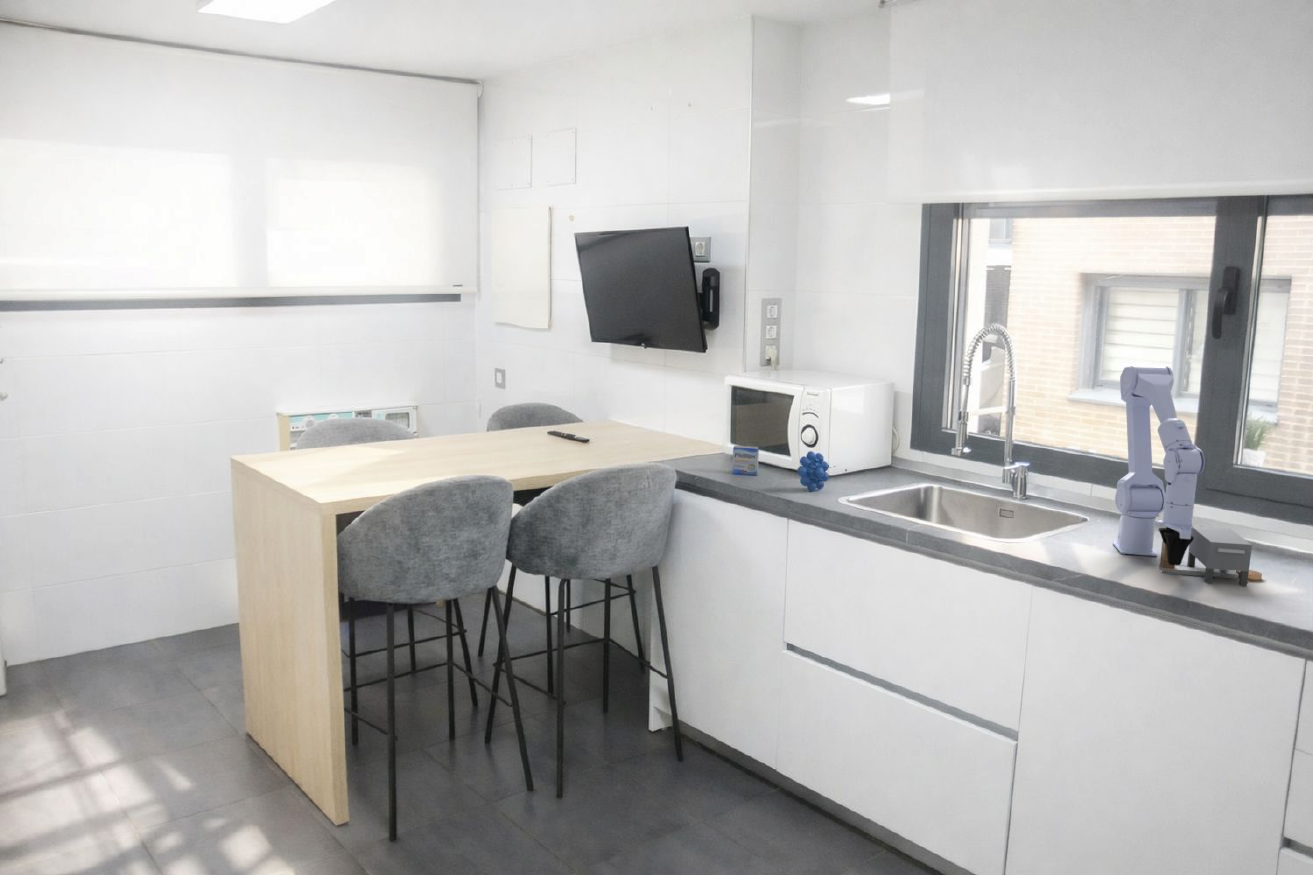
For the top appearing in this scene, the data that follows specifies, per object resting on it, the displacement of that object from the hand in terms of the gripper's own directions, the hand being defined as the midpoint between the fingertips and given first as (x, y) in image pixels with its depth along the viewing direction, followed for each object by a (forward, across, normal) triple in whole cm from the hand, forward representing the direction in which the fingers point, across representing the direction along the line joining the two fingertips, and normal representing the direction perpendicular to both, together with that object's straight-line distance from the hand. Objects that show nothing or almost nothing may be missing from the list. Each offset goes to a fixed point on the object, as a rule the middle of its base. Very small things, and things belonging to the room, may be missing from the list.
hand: (1172, 562), depth 227 cm
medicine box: (+2, -78, -105) cm, 131 cm away
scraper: (+2, 0, +5) cm, 6 cm away
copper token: (+2, 0, +16) cm, 16 cm away
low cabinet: (+2, 0, +9) cm, 9 cm away
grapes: (+2, -58, -82) cm, 100 cm away
